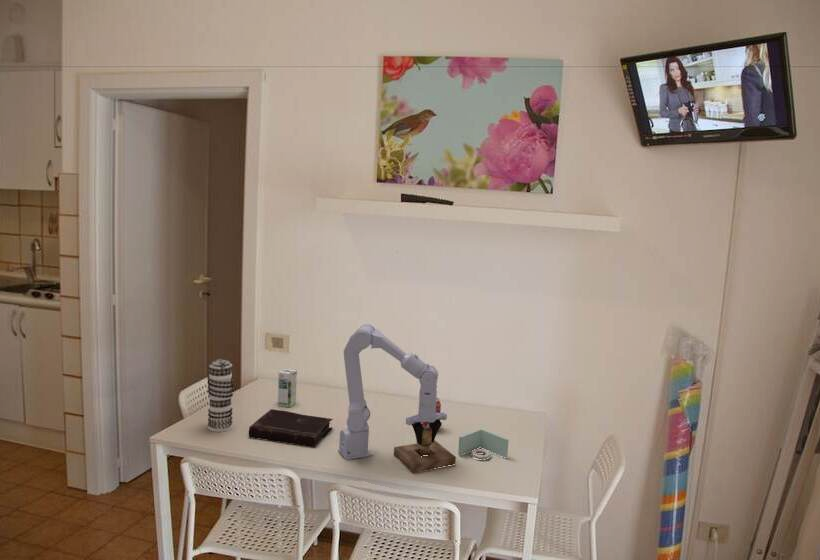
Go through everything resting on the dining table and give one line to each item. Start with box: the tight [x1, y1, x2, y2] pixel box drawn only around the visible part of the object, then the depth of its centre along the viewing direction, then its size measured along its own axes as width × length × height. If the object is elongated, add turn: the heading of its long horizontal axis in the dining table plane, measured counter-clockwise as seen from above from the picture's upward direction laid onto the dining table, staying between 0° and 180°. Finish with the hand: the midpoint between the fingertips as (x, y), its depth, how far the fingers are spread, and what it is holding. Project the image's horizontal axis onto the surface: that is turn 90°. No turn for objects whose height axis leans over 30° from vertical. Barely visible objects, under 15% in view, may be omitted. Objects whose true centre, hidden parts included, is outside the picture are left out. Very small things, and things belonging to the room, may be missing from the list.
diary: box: [248, 408, 333, 448], centre depth 215 cm, size 19×25×5 cm
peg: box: [420, 427, 432, 454], centre depth 197 cm, size 4×4×8 cm
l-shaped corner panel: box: [457, 428, 510, 460], centre depth 203 cm, size 12×12×8 cm
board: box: [393, 440, 457, 474], centre depth 198 cm, size 16×14×3 cm
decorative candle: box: [206, 358, 234, 433], centre depth 215 cm, size 9×9×25 cm
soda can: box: [421, 397, 442, 427], centre depth 224 cm, size 7×7×12 cm
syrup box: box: [277, 368, 298, 409], centre depth 242 cm, size 6×6×14 cm
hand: (425, 442), depth 197 cm, fingers closed on peg, 4 cm apart
